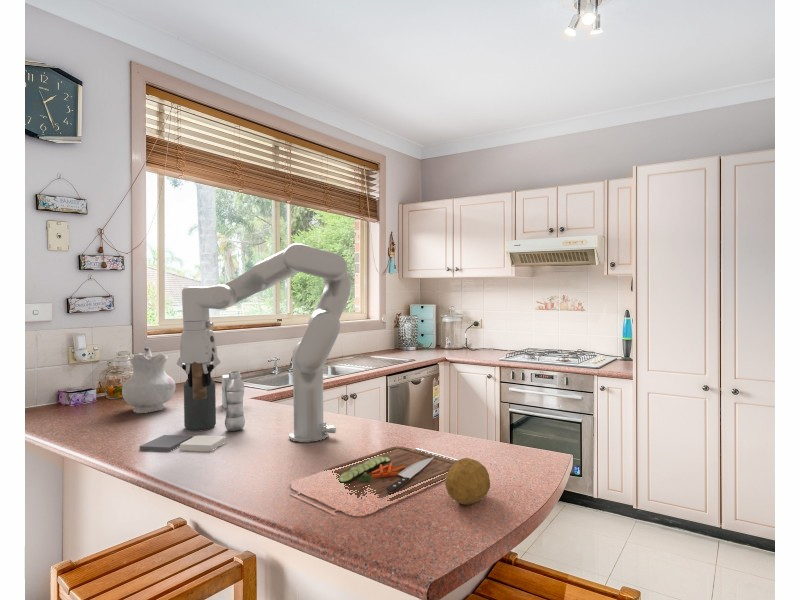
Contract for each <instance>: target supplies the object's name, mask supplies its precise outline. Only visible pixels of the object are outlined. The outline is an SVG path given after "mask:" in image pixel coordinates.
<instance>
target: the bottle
mask: <svg viewBox="0 0 800 600" xmlns="http://www.w3.org/2000/svg"><path fill="white" fill-rule="evenodd" d="M216 395H217V394H216V382H215V380H214V379H213V377H212V376H211V383H210V385H209V386H207V398H204V399H193V386H192V387H189V383H188V378H186V380H185V382H184V383H183V413H184V414H183V415H184V416H183V418H184V421H183V423H184V424H183V425H184V428H185V429H186V430H187V431H188V430H190V431H189V432H200V431H201V430H202V431H208V430H211V429H213V428H214V427H215V426H216V424H217V416H216V415H217V412H216V411H217V410H216V409H217V407H216V405H217V404H216V403H217V401H216ZM210 428H211V429H210ZM207 429H208V430H207Z"/></svg>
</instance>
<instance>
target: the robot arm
mask: <svg viewBox="0 0 800 600" xmlns="http://www.w3.org/2000/svg"><path fill="white" fill-rule="evenodd" d="M299 273H303V274H307V275H309V276H314V277H317V278H318V277H319V278H322V279H323V283H324V288H323V291H322V293H321V295H320V298H319V300H318V302H317V304H316V307H315V308H314V310H313V312H312V314H311V315H310V316H309V319H308V322H307V323H308V324H307V328H306V330H305V332H304V333H303V336H302V339H301V340H300V341H299V342H297V344H296V345H294V348H293V349H292V355H291V356H292V377H293V378H292V380H293V384H292V385H293V387H292V388H293V394H292V395H293V396H292V397H293V431H291V432H290V433H289V434H288V439H289V438H290V439H291V441H292V440H294V441H293V442H295V441H300V442H299V443H311V442H310V441H316V442H319V441H318V440H320V441H323V440H326V439H327V438H328V437H329V434H336V433H337V427H336V426H335V425H328V424H327V420H326V421H325V420H324V371H323V370H324V369H323V367H324V366H325V363H326V361H327V359H328V358H329V355H330V353H331V352H332V349H333V347H334V345H335V343H336V341H337V339H338V336H339V334H340V331H341V321H340V318H341V316H342V314H343V312H344V310H345V307H346V305H347V303H348V300H349V297H350V293H351V281H350V277H349V274H348V264H347V261H346V259H345V258H344V257H343V256H342V255H340V254H338V253H335V252H333V251H328V250H324V249H320V248H318V247H314V246H310V245H306V244H304V243H292V244H290V245H289V246H288V247H287V248H285V249H283V250H281V251H279V252H277V253H275V254H273V255H271V256H269V257H267V258H265V259H264V260H262V261H259V262H257V263H256V264H254V265H252V266H251V267H250V268H249V269H248V270H246V271H245V272H244V273H242V274H240V275H238V276H237V277H235V278H232V279H231V280H229V281H228V280H227V282H225V283H223V284H217V285H216V284H215V285H211V286H186V287H183V288H182V289H181V304H182V307H181V308H182V324H183V331H182V332H181V335H180V342H179V343H180V346H179V358H178V360H177V362H176V365H177V366H179V367H180V368H182V370H183V371H184V372H185V374H186V375H187V379H188V383H189V387H192V386H193V385H192V366H191V364H192V363H194V362H196V363H199V364H202V366H203V370H204V374H203V375H202V377H203V387H206V386H209V385H210V383H211V377H212V376H211V375H212V372H213V370H214V369H215V368H216V367H217V366H218V365H220V364H221V360H220V359H219V357H218V351H217V350H218V348H217V343H216V342H217V341H216V338H215V334H214V330H213V329H212V330H211V328H212V327H214V323H213V322H211V320H210V309H211V310H212V309H213V310H225V309H229V308H230V307H232V306H234V305H235V304H238V303H240V302H242V301H243V300H245V299H247V298H250V297H251V296H253V295H255V294H258V293H260V292H263V291H266V290H268V289H270V288H272V287H274V286H275V285H277V284H279V283H281V282H283V281H285V280H287V279H289V278H291V277H293V276H295V275H297V274H299ZM326 437H327V438H326ZM325 438H326V439H325ZM290 439H289V440H290ZM322 439H323V440H322Z"/></svg>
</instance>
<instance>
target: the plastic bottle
mask: <svg viewBox="0 0 800 600" xmlns="http://www.w3.org/2000/svg"><path fill="white" fill-rule="evenodd" d="M228 375H229V381H228V382H227V384H226V385H225V394H226V403H227V408H226V413H225V418H224V419H225V420H224V427H225V429H226V430H227V431H230V432H235V431H240V430H241V431H242V430H243V428H244V427H245V424H246V418H245V415H244V393H245V384H244V382H243V380H242V381H241V380H240V378H239V377H240V376H241V371H239V370H236V371H234V370H232V371H229V372H228Z"/></svg>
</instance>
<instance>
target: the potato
mask: <svg viewBox="0 0 800 600" xmlns="http://www.w3.org/2000/svg"><path fill="white" fill-rule="evenodd" d="M444 483H445V489H446V492H447V493H448V495H449V497H450V498H451V499H452V500H453V501H455V502H456V503H458V504H461V505H465V506H467V505H466V504H469V505H472V504H475V503H477V502H479V501H481V500H482V499H484V498H485V497H486V496H487V494H488V493H489V491H490V488H491V479H490V474H489V472H488V470H487V467H486V466H484V465H483V463H481V462H480V461H478V460H476V459H474V458H469V457H464V458H463V457H462V458H460V459H459V460H458V461H456V462H455V463H454V464H453V465H452V467H451V468H450V470H449V472H448V473H447V475H446V479H445V481H444ZM471 503H472V504H471Z"/></svg>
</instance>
